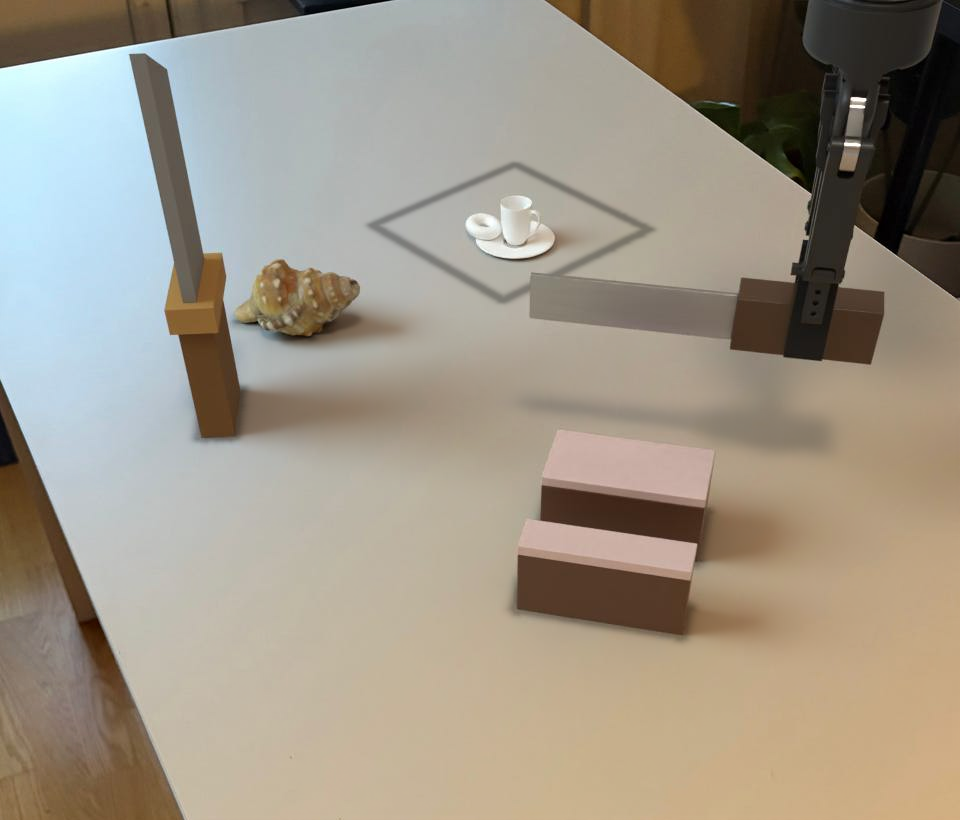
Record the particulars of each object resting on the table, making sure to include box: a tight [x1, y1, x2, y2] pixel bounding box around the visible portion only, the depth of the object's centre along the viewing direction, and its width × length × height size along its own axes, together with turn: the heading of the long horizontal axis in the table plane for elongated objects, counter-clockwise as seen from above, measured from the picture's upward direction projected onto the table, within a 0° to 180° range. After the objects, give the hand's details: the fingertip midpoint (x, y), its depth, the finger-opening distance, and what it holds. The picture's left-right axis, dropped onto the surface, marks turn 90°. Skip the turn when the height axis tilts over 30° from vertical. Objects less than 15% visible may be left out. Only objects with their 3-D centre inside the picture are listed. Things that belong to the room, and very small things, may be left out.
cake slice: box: [516, 518, 697, 636], centre depth 86 cm, size 12×3×6 cm, turn 76°
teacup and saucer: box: [465, 195, 556, 260], centre depth 121 cm, size 9×8×4 cm
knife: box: [128, 52, 241, 439], centre depth 93 cm, size 8×4×30 cm, turn 3°
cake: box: [539, 429, 717, 563], centre depth 92 cm, size 12×6×6 cm, turn 76°
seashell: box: [234, 258, 361, 337], centre depth 111 cm, size 9×8×10 cm
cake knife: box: [528, 271, 886, 366], centre depth 88 cm, size 25×3×4 cm, turn 78°
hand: (803, 341), depth 88 cm, fingers closed on cake knife, 3 cm apart
